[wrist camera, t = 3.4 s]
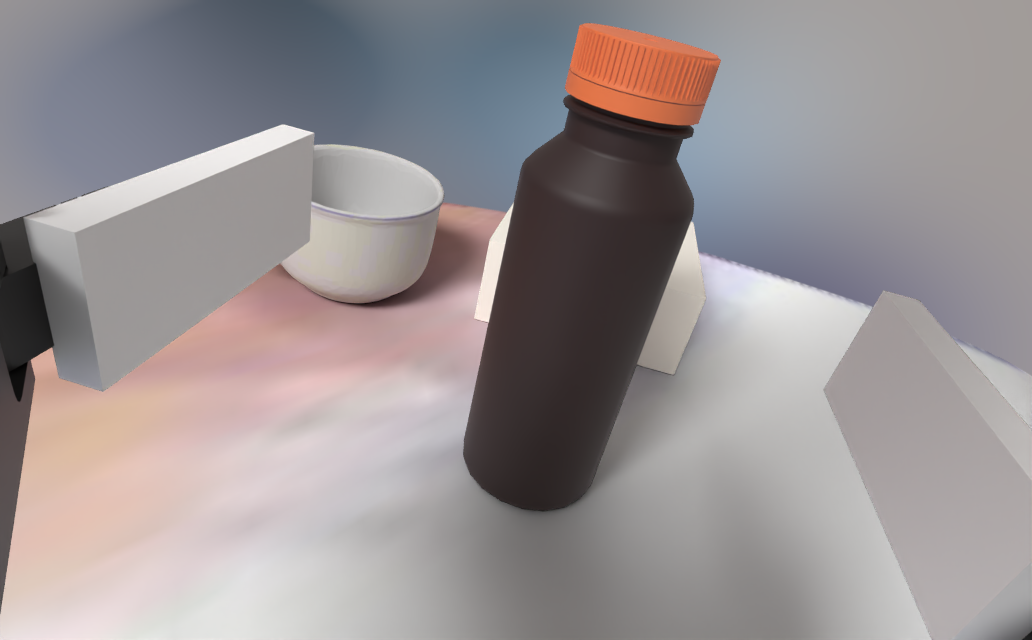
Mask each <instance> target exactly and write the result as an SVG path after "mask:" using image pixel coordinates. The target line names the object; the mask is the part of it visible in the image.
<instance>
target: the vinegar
mask: <svg viewBox="0 0 1032 640" xmlns="http://www.w3.org/2000/svg"><path fill="white" fill-rule="evenodd" d="M720 61H721V60H720V59H719V58H718V56H717V55H714V54H713V53H711V52H708V51H705V50H702V49H699V48H696V47H693V46H690V45H686V44H683V43H679V42H676V41H672V40H668V39H665V38H660V37H656V36H653V35H649V34H644V33H640V32H636V31H631V30H626V29H622V28H617V27H612V26H606V25H599V24H591V23H586V24H582V25H580V27H579V31H578V35H577V39H576V44H575V48H574V52H573V56H572V61H571V65H570V69H569V73H568V77H567V81H566V85H565V89H566V91H567V92H568V93H569V94H571V95H568V96H567V97H565V98H564V100H563V102H564V105H565V107H567V108H568V109H569V112H568V117H567V120H566V124H565V129H564V131H563V132H561V133H560V134H558V135H557V136H555V137H554V138H553V139H551V140H550V141H548V142H547V143H545V144H544V145H542V146H541V147H540V148H538V149H537V150H535V151H534V152H533V153H532V154H531V155H530V156H529V157H528V158H527V159H526V160H525V161H524V163H523V165H522V168H521V172H520V176H519V181H518V186H517V191H516V195H515V200H514V205H513V209H512V214H511V219H510V224H509V228H508V233H507V238H506V243H505V247H504V252H503V257H502V262H501V266H500V271H499V276H498V281H497V285H496V290H495V295H494V300H493V304H492V309H491V314H490V319H489V323H488V328H487V333H486V338H485V342H484V347H483V352H482V357H481V361H480V366H479V371H478V376H477V380H476V385H475V390H474V395H473V399H472V404H471V409H470V414H469V419H468V423H467V428H466V433H465V438H464V452H463V455H464V459H465V462H466V464H467V467H468V470H469V472H470V474H471V475H472V477H473V478H474V479H475V480H476V481H477V483H478V484H479V485H480V486H481V487H482V488H483V489H484V490H485V491H487V492H488V493H490V494H491V495H493V496H494V497H496V498H497V499H499V500H500V501H503V502H506V503H508V504H511V505H514V506H517V507H519V508H523V509H533V510H542V511H544V510H551V509H557V508H563V507H565V506H567V505H569V504H571V503H573V502H575V501H576V500H578V499H580V497H581V496H582V495H583V494H584V493H585V491H586V490H587V489H588V488H589V487H590V485H591V484H592V481H593V478H594V476H595V473H596V471H597V468H598V465H599V463H600V460H601V457H602V455H603V452H604V449H605V447H606V444H607V442H608V439H609V436H610V434H611V431H612V428H613V426H614V423H615V420H616V418H617V415H618V413H619V410H620V407H621V405H622V402H623V399H624V397H625V394H626V391H627V389H628V386H629V383H630V381H631V378H632V376H633V373H634V370H635V368H636V365H637V362H638V360H639V357H640V354H641V352H642V349H643V347H644V344H645V341H646V339H647V336H648V333H649V331H650V328H651V325H652V323H653V320H654V317H655V315H656V312H657V310H658V307H659V304H660V302H661V299H662V296H663V294H664V291H665V288H666V286H667V283H668V281H669V278H670V275H671V273H672V270H673V267H674V265H675V262H676V259H677V257H678V254H679V251H680V249H681V246H682V244H683V241H684V238H685V236H686V233H687V230H688V228H689V225H690V222H691V220H692V217H693V210H694V198H693V196H692V193H691V190H690V188H689V186H688V184H687V182H686V180H685V177H684V175H683V173H682V171H681V168H680V166H679V164H678V162H677V160H676V158H677V155H678V152H679V149H680V146H681V144H682V141H683V139H687V138H690V137H692V135H693V132H694V129H693V128H692V127H691V126H690V125H694V124H698V123H699V120H700V118H701V114H702V112H703V109H704V106H705V103H706V100H707V98H708V95H709V92H710V90H711V87H712V84H713V81H714V78H715V76H716V73H717V70H718V67H719V64H720Z"/></svg>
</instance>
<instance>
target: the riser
mask: <svg viewBox="0 0 1032 640" xmlns="http://www.w3.org/2000/svg"><path fill="white" fill-rule="evenodd" d="M513 205H514V203H513ZM513 205H512V206H511V208H510V209H509V211H508V212H507V214H506V215H505V217H504V218H503V220H502V221H501V223H500V225H499V226H498V228H497V229H496V231H495V232H494V234H493V235H492V237H491V239H490V241H489V246H488V251H487V256H486V262H485V267H484V272H483V277H482V282H481V287H480V292H479V297H478V302H477V308H476V313H475V318H474V319H477V320H481V321H484V322H488V323H489V319H490V314H491V309H492V304H493V300H494V295H495V290H496V285H497V281H498V276H499V271H500V266H501V262H502V257H503V252H504V247H505V243H506V238H507V233H508V228H509V224H510V219H511V214H512V209H513ZM705 300H706V295H705V289H704V283H703V277H702V271H701V265H700V259H699V254H698V248H697V242H696V236H695V230H694V225H693V222H690V225H689V228H688V230H687V233H686V236H685V238H684V241H683V244H682V246H681V249H680V251H679V254H678V257H677V259H676V262H675V265H674V267H673V270H672V273H671V275H670V278H669V281H668V283H667V286H666V288H665V291H664V294H663V296H662V299H661V302H660V304H659V307H658V310H657V312H656V315H655V317H654V320H653V323H652V325H651V328H650V331H649V333H648V336H647V339H646V341H645V344H644V347H643V349H642V352H641V354H640V357H639V360H638V362H637V365H639V366H643V367H646V368H650V369H653V370H657V371H661V372H664V373H668V374H671V375H674V374H675V371H676V369H677V367H678V364H679V362H680V359H681V357H682V355H683V352H684V350H685V348H686V345H687V343H688V341H689V338H690V336H691V333H692V331H693V329H694V326H695V324H696V322H697V319H698V317H699V315H700V312H701V310H702V308H703V305H704V303H705Z"/></svg>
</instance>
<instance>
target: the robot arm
mask: <svg viewBox="0 0 1032 640" xmlns="http://www.w3.org/2000/svg"><path fill="white" fill-rule="evenodd" d="M313 149H314V133H312V132H309V131H305V130H302V129H298V128H294V127H291V126H287V125H280V126H277V127H275V128H272V129H269V130H266V131H263V132H260V133H258V134H255V135H252V136H249V137H247V138H244V139H241V140H238V141H235V142H232V143H230V144H227V145H224V146H221V147H219V148H216V149H213V150H210V151H208V152H205V153H202V154H199V155H196V156H193V157H191V158H188V159H185V160H182V161H179V162H177V163H174V164H171V165H168V166H165V167H163V168H160V169H157V170H154V171H152V172H149V173H146V174H143V175H140V176H138V177H135V178H132V179H129V180H127V181H124V182H121V183H118V184H115V185H112V186H109V187H104V188H102V189H99V190H96V191H93V192H90V193H87V194H84V195H82V196H81V197H79V198H73V199H71V200H68V201H65V202H63V203H61V204H60V205H54V206H51V207H48V208H45V209H42V210H40V211H37V212H34V213H31V214H28V215H26V216H23V217H20V218H17V219H14V220H12V221H9V222H6V223H3V224H0V612H1V605H2V599H3V592H4V585H5V579H6V572H7V565H8V558H9V552H10V545H11V538H12V531H13V525H14V518H15V511H16V505H17V498H18V491H19V484H20V478H21V471H22V464H23V458H24V451H25V444H26V437H27V431H28V424H29V417H30V410H31V404H32V397H33V390H34V384H35V376H34V372H33V368H32V364H31V359H33V358H34V357H36V356H38V355H39V354H41V353H43V352H44V351H46V350H48V349H49V348H51V347H52V348H53V353H54V357H55V362H56V366H57V371H58V375H59V378H61V379H64V380H67V381H71V382H74V383H77V384H80V385H83V386H86V387H90V388H93V389H96V390H99V391H102V392H104V391H105V390H106V389H108V388H109V387H110V386H112V385H113V384H115V383H116V382H117V381H119V380H120V379H121V378H123V377H124V376H126V375H127V374H128V373H130V372H131V371H132V370H134V369H135V368H137V367H138V366H139V365H141V364H142V363H143V362H145V361H146V360H148V359H149V358H150V357H152V356H153V355H154V354H156V353H157V352H159V351H160V350H161V349H163V348H164V347H165V346H167V345H168V344H170V343H171V342H172V341H174V340H175V339H176V338H178V337H179V336H181V335H182V334H183V333H185V332H186V331H187V330H189V329H190V328H191V327H193V326H194V325H196V324H197V323H198V322H200V321H201V320H202V319H204V318H205V317H207V316H208V315H209V314H211V313H212V312H213V311H215V310H216V309H218V308H219V307H220V306H222V305H223V304H224V303H226V302H227V301H229V300H230V299H231V298H233V297H234V296H235V295H237V294H238V293H240V292H241V291H242V290H244V289H245V288H246V287H248V286H249V285H251V284H252V283H253V282H255V281H256V280H257V279H259V278H260V277H262V276H263V275H264V274H266V273H267V272H268V271H270V270H271V269H273V268H274V267H275V266H277V265H278V264H279V263H281V262H282V261H283V260H285V259H286V258H288V257H289V256H290V255H292V254H293V253H294V252H296V251H297V250H299V249H300V248H301V247H303V246H304V245H305V244H307V243H308V242H310V226H311V200H312V175H313ZM824 392H825V394H826V397H827V399H828V401H829V404H830V406H831V408H832V411H833V413H834V415H835V418H836V420H837V422H838V424H839V427H840V429H841V431H842V434H843V436H844V438H845V441H846V443H847V445H848V448H849V450H850V452H851V454H852V457H853V459H854V461H855V464H856V466H857V468H858V471H859V473H860V475H861V478H862V480H863V482H864V484H865V487H866V489H867V491H868V494H869V496H870V498H871V501H872V503H873V505H874V508H875V510H876V512H877V514H878V517H879V519H880V521H881V524H882V526H883V528H884V531H885V533H886V535H887V538H888V540H889V542H890V544H891V547H892V549H893V551H894V554H895V556H896V558H897V561H898V563H899V565H900V568H901V570H902V572H903V574H904V577H905V579H906V581H907V584H908V586H909V588H910V591H911V593H912V595H913V598H914V600H915V602H916V604H917V607H918V609H919V611H920V614H921V616H922V618H923V621H924V623H925V625H926V628H927V630H928V632H929V634H930V637H931V639H932V640H1032V430H1031V428H1030V427H1029V426H1028V425H1027V424H1026V423H1025V422H1024V420H1023V419H1022V418H1021V417H1020V416H1019V415H1018V413H1017V412H1016V411H1015V410H1014V409H1013V408H1012V407H1011V405H1010V404H1009V403H1008V402H1007V401H1006V400H1005V399H1004V397H1003V396H1002V395H1001V394H1000V393H999V392H998V390H997V389H996V388H995V387H994V386H993V385H992V384H991V382H990V381H989V380H988V379H987V378H986V377H985V376H984V374H983V373H982V372H981V371H980V370H979V369H978V367H977V366H976V365H975V364H974V363H973V362H972V361H971V359H970V358H969V357H968V356H967V355H966V354H965V353H964V351H963V350H962V349H961V348H960V347H959V346H958V344H957V343H956V342H955V341H954V340H953V339H952V338H951V336H950V335H949V334H948V333H947V332H946V331H945V330H944V328H943V327H942V326H941V325H940V324H939V323H938V321H937V320H936V319H935V318H934V317H933V316H932V315H931V314H930V312H929V311H928V310H927V309H926V308H925V307H924V305H923V304H922V303H921V302H920V301H919V300H917V299H912V298H909V297H906V296H902V295H898V294H895V293H891V292H888V291H883V292H882V294H881V295H880V297H879V299H878V300H877V302H876V304H875V305H874V307H873V308H872V310H871V312H870V313H869V315H868V317H867V318H866V320H865V322H864V323H863V325H862V327H861V328H860V330H859V332H858V333H857V335H856V337H855V338H854V340H853V342H852V343H851V345H850V347H849V348H848V350H847V352H846V353H845V355H844V356H843V358H842V360H841V361H840V363H839V365H838V366H837V368H836V370H835V371H834V373H833V375H832V376H831V378H830V380H829V381H828V383H827V385H826V386H825V388H824Z"/></svg>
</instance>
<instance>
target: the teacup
mask: <svg viewBox="0 0 1032 640" xmlns="http://www.w3.org/2000/svg"><path fill="white" fill-rule="evenodd" d="M443 200H444V190H443V188H442V185H441V183H440V182H439V180H438V179H436V178H435V177H434V176H433V175H432V174H431V173H429V172H428V171H427V170H425V169H423V168H422V167H420V166H419V165H416V164H414V163H412V162H409V161H408V160H405V159H403V158H400V157H397V156H394V155H391V154H388V153H384V152H381V151H377V150H372V149H366V148H360V147H356V146H346V145H331V144H329V145H314V149H313V175H312V200H311V226H310V242H308V243H307V244H305V245H304V246H303V247H301V248H300V249H299V250H297V251H296V252H294V253H293V254H292V255H290V256H289V257H288V258H286V259H285V260H283V261H282V262H281V263H279V264H281V265H282V266H283V267H284V268H285V270H286V271H287V272H288V273H289V274H290V275H291V276H292V277H293V278H294V279H296V280H297V281H299V282H300V283H301V284H303V285H305V286H306V287H307V288H308V289H310V290H311V291H313V292H315V293H317V294H319V295H321V296H323V297H326V298H328V299H331V300H335V301H340V302H347V303H368V302H374V301H379V300H382V299H385V298H387V297H390V296H391V295H394V294H397V293H399V292H402V291H403V290H405V289H407V288H409V287H410V286H411V285H413V284H414V283H415V282H416V281H417V280H418V279H419V278H420V276H421V275H422V274H423V272H424V270H425V268H426V266H427V263H428V260H429V257H430V254H431V250H432V246H433V241H434V237H435V232H436V227H437V222H438V216H439V210H440V206H441V205H442V203H443Z"/></svg>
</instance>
